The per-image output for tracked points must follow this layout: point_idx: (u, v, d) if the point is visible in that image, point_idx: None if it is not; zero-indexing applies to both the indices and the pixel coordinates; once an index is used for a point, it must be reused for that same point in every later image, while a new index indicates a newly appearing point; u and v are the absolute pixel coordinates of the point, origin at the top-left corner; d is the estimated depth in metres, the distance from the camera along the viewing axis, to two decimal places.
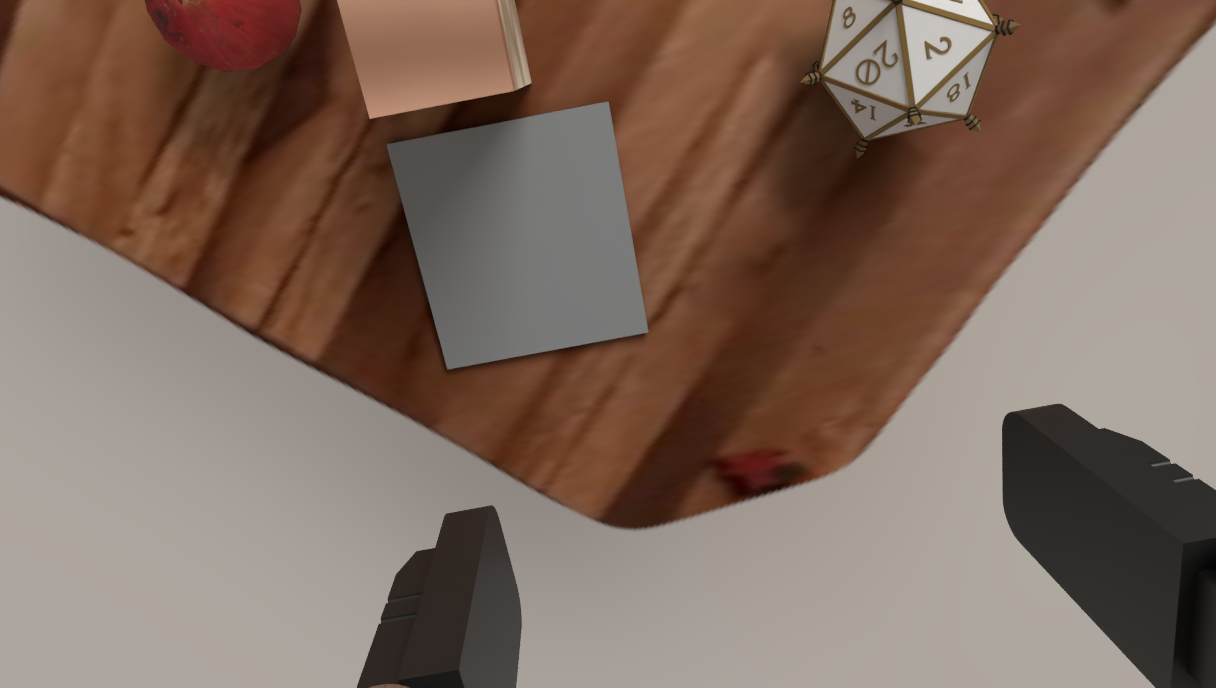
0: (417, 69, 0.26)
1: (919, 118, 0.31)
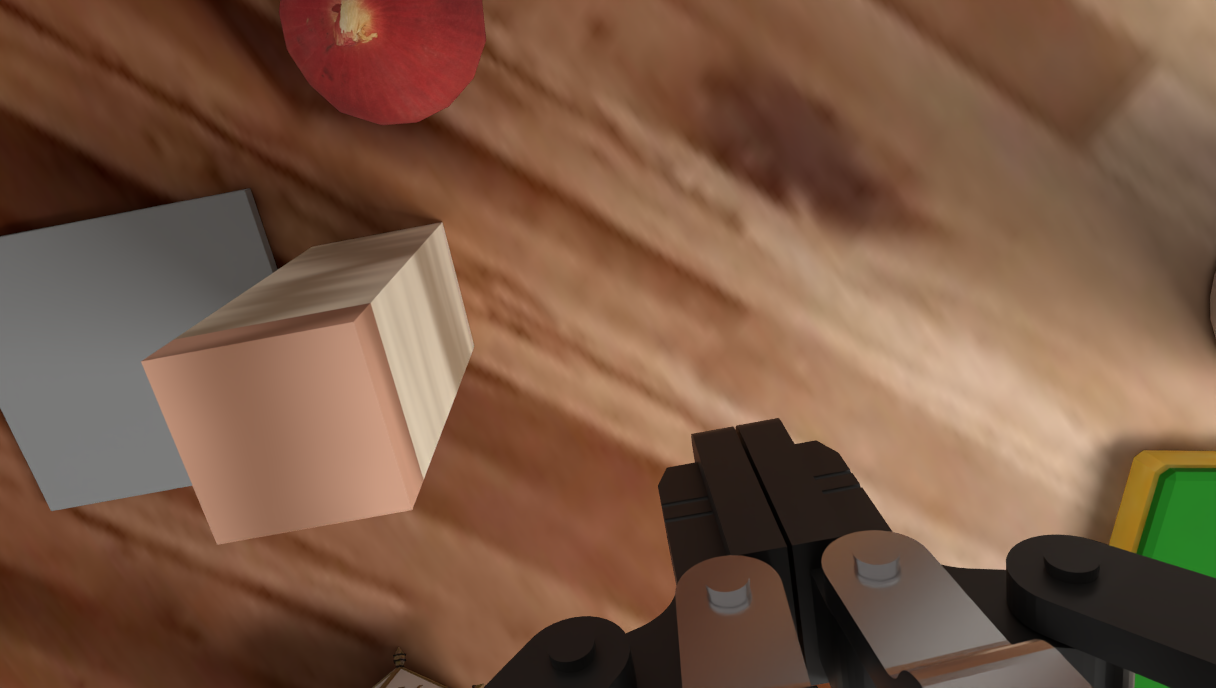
0: (223, 429, 0.18)
1: None
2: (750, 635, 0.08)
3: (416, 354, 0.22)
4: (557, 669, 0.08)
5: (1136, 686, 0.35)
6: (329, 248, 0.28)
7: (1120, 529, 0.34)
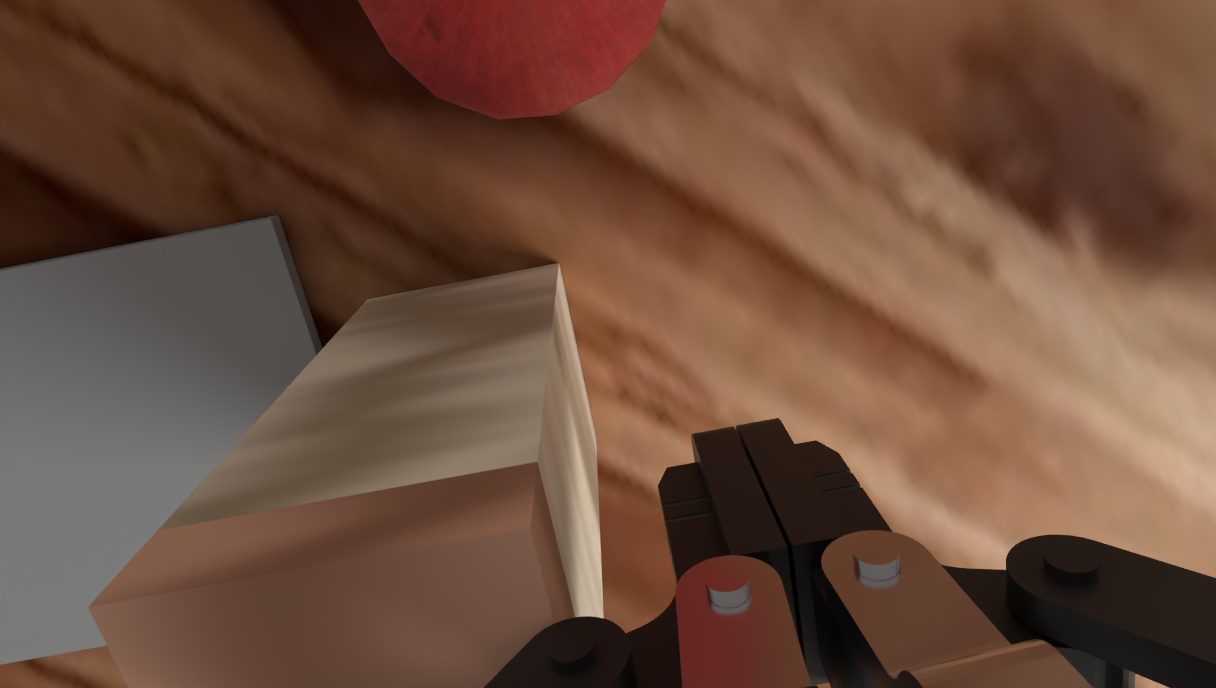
0: None
1: None
2: (750, 635, 0.08)
3: (575, 508, 0.13)
4: (557, 669, 0.08)
5: None
6: (397, 304, 0.19)
7: None
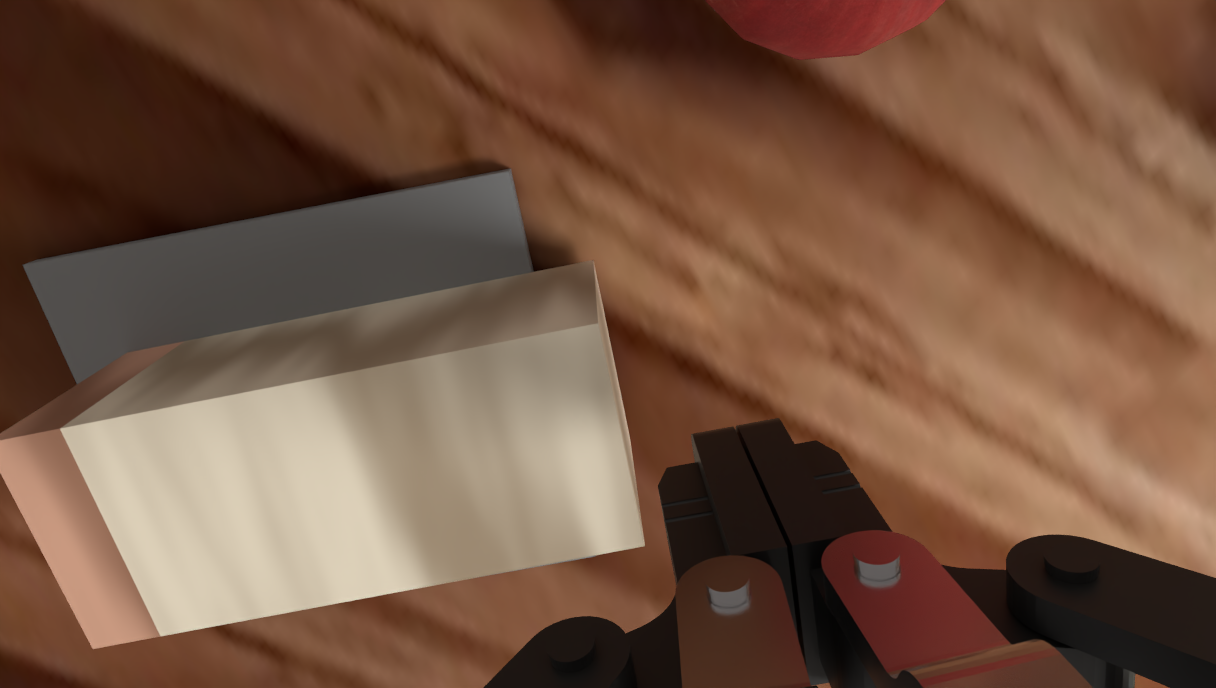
0: None
1: None
2: (750, 635, 0.08)
3: (235, 507, 0.16)
4: (557, 669, 0.08)
5: None
6: (544, 280, 0.18)
7: None
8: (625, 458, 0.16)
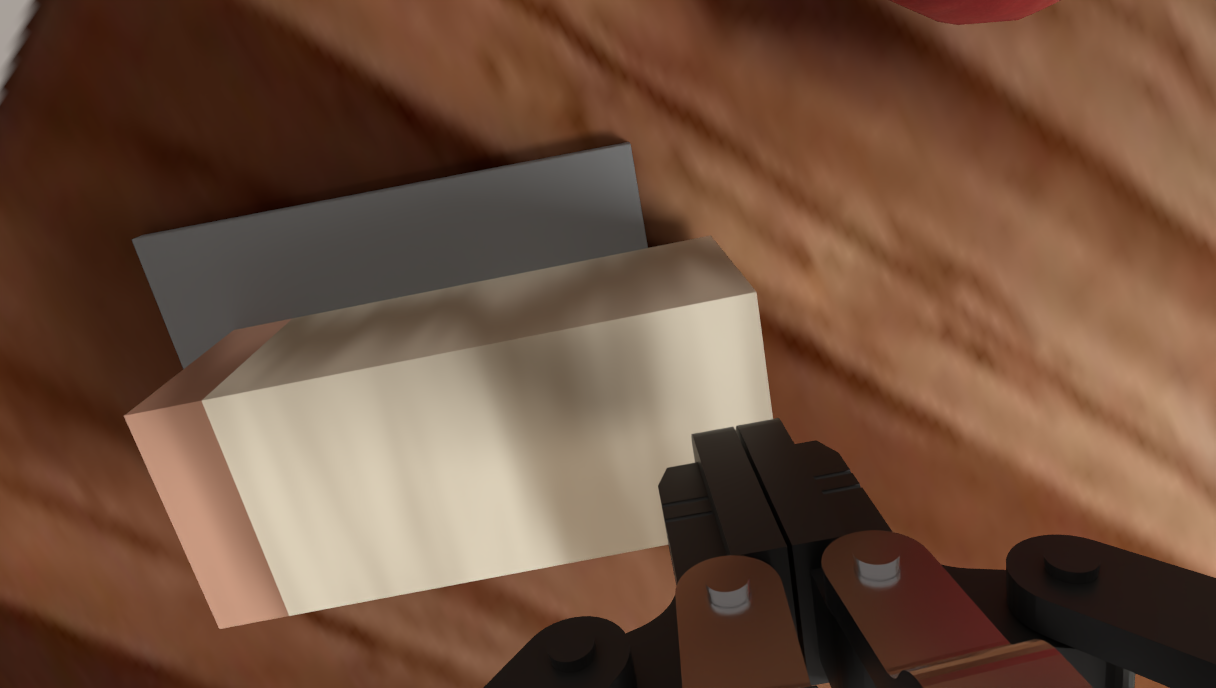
0: None
1: None
2: (750, 635, 0.08)
3: (374, 482, 0.15)
4: (557, 669, 0.08)
5: None
6: (667, 254, 0.18)
7: None
8: None
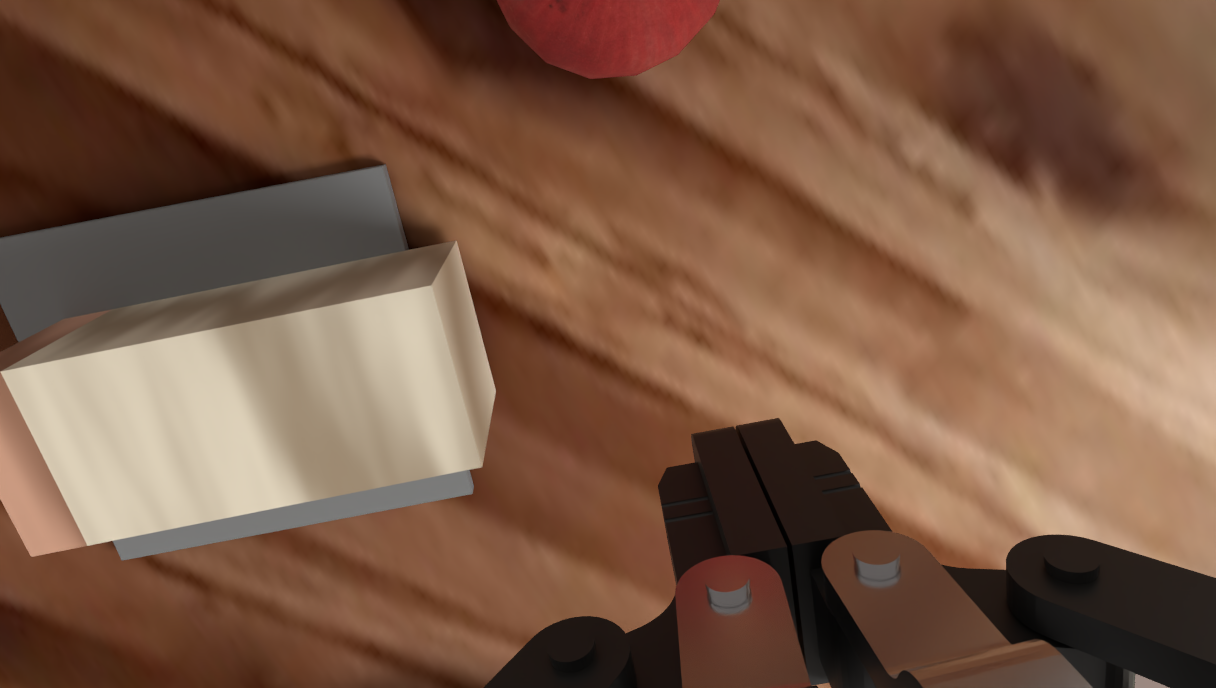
0: None
1: None
2: (750, 635, 0.08)
3: (145, 436, 0.19)
4: (557, 669, 0.08)
5: None
6: (411, 256, 0.22)
7: None
8: (461, 394, 0.19)
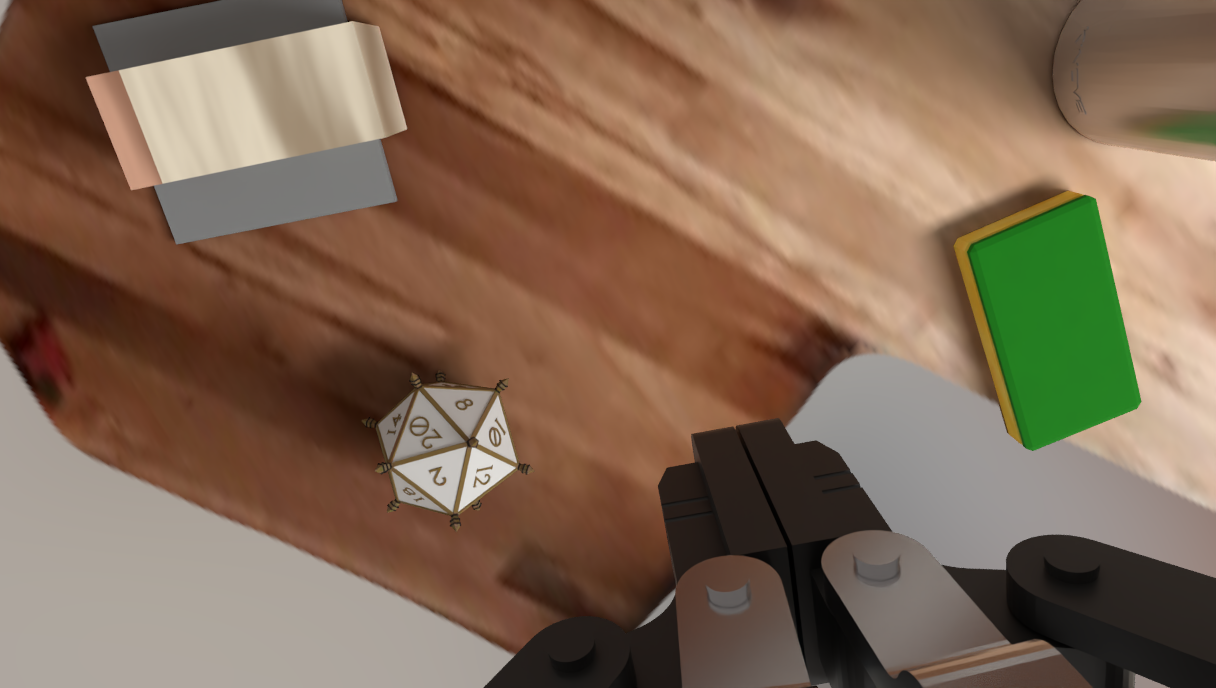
0: None
1: (381, 472, 0.39)
2: (750, 635, 0.08)
3: (196, 113, 0.35)
4: (557, 670, 0.08)
5: (1040, 402, 0.46)
6: None
7: (971, 298, 0.45)
8: (371, 90, 0.35)
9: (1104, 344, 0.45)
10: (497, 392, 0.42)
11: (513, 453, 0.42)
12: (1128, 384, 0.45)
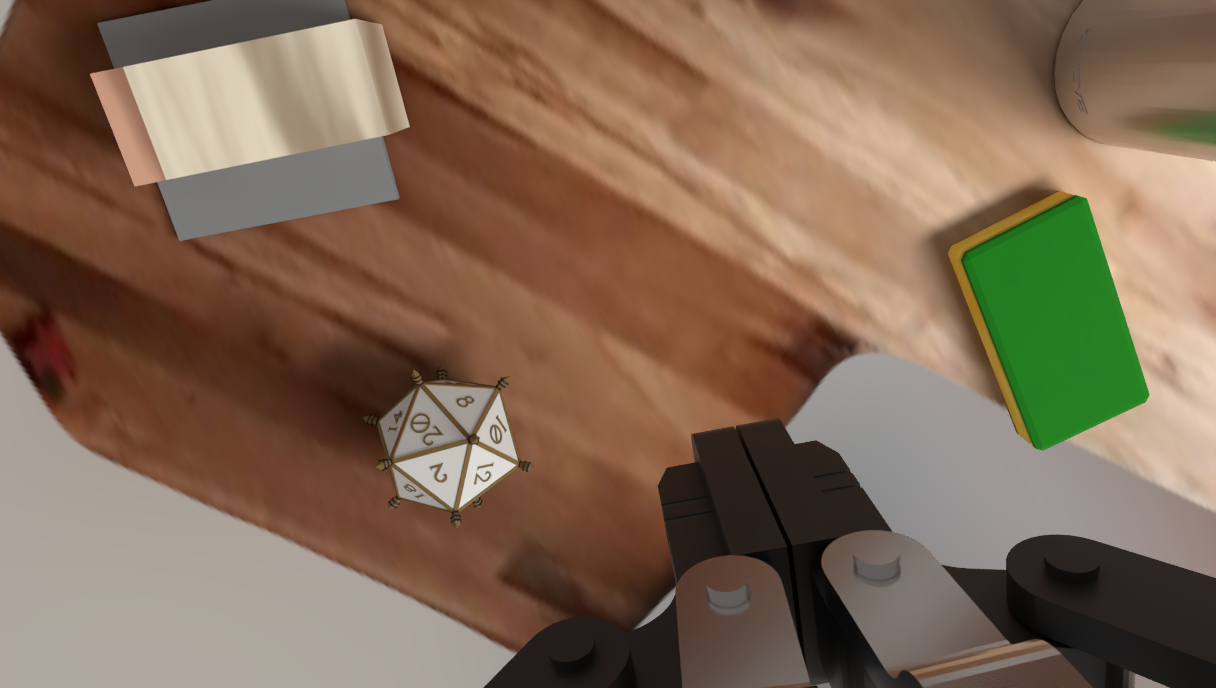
0: None
1: (382, 468, 0.39)
2: (750, 635, 0.08)
3: (199, 109, 0.35)
4: (557, 670, 0.08)
5: (1047, 402, 0.46)
6: None
7: (969, 304, 0.45)
8: (374, 87, 0.35)
9: (1107, 341, 0.44)
10: (498, 389, 0.42)
11: (514, 450, 0.42)
12: (1134, 378, 0.45)
